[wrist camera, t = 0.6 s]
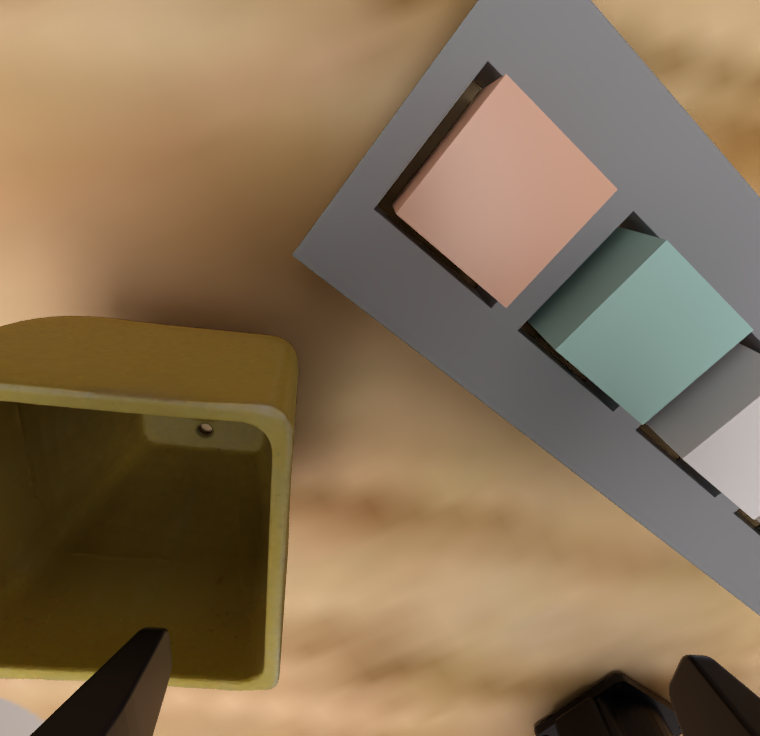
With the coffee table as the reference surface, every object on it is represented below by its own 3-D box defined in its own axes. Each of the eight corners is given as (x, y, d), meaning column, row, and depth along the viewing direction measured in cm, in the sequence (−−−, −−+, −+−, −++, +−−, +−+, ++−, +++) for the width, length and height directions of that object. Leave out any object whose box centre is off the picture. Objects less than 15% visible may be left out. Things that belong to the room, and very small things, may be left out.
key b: (787, 399, 18) (862, 441, 15) (699, 468, 19) (753, 520, 17) (724, 336, 17) (792, 370, 14) (635, 413, 18) (682, 458, 16)
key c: (690, 301, 17) (754, 329, 14) (600, 384, 18) (643, 424, 15) (614, 225, 16) (667, 240, 13) (525, 318, 17) (555, 350, 14)
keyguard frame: (922, 433, 20) (991, 467, 18) (723, 572, 23) (761, 617, 21) (504, -33, 14) (530, -71, 12) (302, 242, 17) (291, 254, 15)
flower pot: (329, 295, 18) (293, 414, 10) (313, 489, 21) (276, 700, 13) (83, 267, 17) (-182, 367, 9) (108, 470, 21) (-68, 678, 12)
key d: (572, 183, 15) (617, 189, 12) (483, 282, 16) (506, 308, 13) (479, 90, 14) (506, 73, 11) (391, 203, 15) (395, 213, 12)
